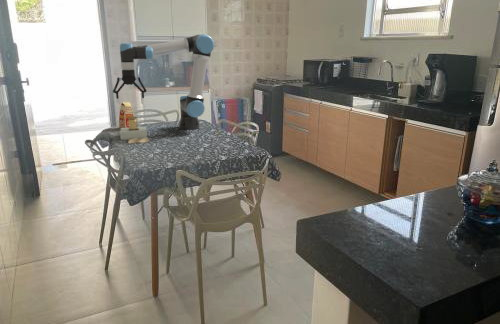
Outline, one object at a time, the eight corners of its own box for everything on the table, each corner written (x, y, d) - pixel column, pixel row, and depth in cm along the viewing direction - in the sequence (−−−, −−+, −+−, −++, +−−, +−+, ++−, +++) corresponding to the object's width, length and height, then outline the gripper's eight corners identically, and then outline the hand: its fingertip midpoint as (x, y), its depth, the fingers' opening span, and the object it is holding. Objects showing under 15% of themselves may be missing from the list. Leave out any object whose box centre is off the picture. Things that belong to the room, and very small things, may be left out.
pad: (148, 138, 244) (148, 137, 244) (148, 142, 235) (148, 141, 235) (128, 139, 241) (128, 138, 241) (128, 143, 232) (128, 142, 232)
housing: (146, 134, 256) (146, 126, 255) (146, 138, 245) (146, 130, 243) (121, 135, 252) (121, 128, 251) (120, 139, 241) (120, 132, 240)
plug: (138, 135, 251) (136, 116, 247) (138, 137, 247) (136, 117, 243) (130, 136, 250) (128, 116, 246) (130, 137, 246) (128, 118, 242)
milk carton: (126, 130, 265) (123, 102, 259) (118, 128, 271) (115, 100, 264) (137, 128, 272) (134, 100, 266) (129, 126, 277) (126, 99, 271)
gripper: (148, 68, 242) (151, 102, 248) (107, 69, 236) (110, 103, 242) (148, 69, 235) (151, 103, 241) (106, 69, 229) (109, 105, 235)
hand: (130, 103), depth 242 cm, fingers open, 13 cm apart
